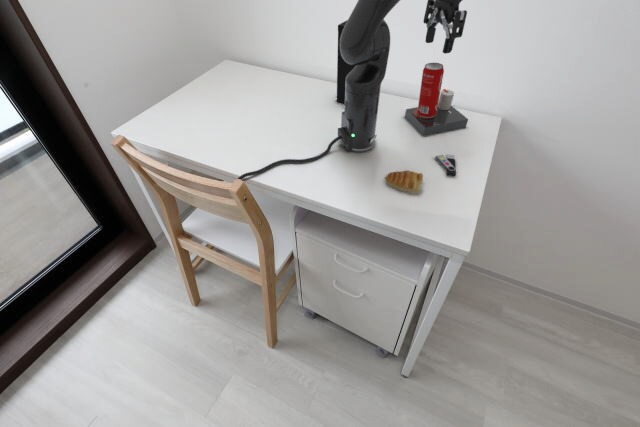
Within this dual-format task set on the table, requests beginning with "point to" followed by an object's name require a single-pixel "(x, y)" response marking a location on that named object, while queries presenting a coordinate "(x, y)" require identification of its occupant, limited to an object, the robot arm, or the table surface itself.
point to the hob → (437, 121)
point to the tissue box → (342, 69)
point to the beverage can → (430, 89)
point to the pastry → (405, 181)
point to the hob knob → (445, 99)
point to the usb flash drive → (447, 164)
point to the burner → (418, 115)
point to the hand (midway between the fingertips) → (437, 47)
